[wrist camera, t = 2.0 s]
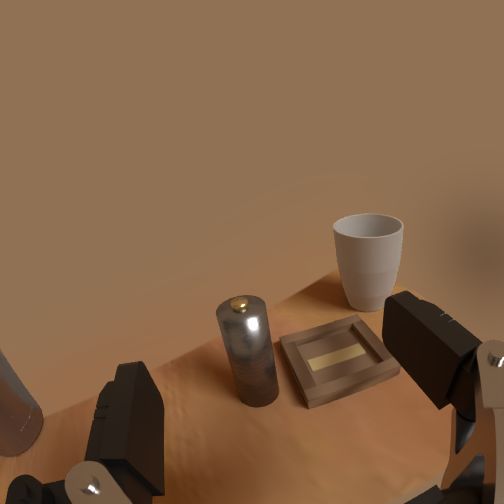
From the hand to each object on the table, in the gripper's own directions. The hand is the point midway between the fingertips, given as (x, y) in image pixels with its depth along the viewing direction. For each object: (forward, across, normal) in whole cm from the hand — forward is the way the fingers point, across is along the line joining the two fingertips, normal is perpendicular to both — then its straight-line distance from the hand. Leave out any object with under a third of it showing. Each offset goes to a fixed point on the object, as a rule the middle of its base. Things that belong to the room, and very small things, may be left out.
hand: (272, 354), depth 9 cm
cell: (+11, 0, +14) cm, 18 cm away
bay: (+12, -8, +14) cm, 21 cm away
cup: (+20, -16, +15) cm, 30 cm away
